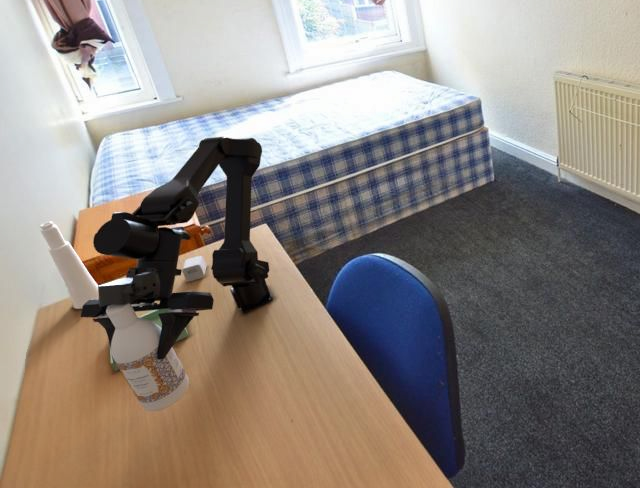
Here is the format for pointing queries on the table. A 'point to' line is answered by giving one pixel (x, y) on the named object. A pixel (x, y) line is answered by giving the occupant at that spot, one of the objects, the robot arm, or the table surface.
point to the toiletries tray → (155, 318)
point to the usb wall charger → (194, 268)
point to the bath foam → (145, 360)
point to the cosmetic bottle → (70, 267)
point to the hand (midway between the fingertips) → (138, 361)
